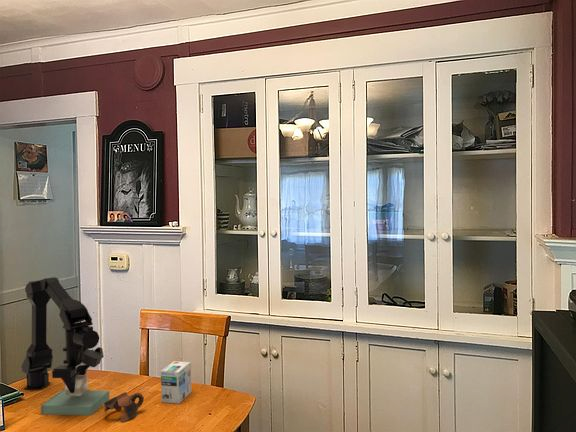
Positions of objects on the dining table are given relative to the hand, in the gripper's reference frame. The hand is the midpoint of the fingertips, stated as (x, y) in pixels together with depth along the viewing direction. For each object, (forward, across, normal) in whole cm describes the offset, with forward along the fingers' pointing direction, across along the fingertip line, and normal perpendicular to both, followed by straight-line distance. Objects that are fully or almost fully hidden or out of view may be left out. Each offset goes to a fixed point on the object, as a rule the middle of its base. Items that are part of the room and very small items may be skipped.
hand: (76, 389), depth 163 cm
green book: (+6, 0, 0) cm, 6 cm away
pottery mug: (+6, -6, -19) cm, 21 cm away
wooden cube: (+1, 0, 0) cm, 1 cm away
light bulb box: (+6, +9, -31) cm, 33 cm away
